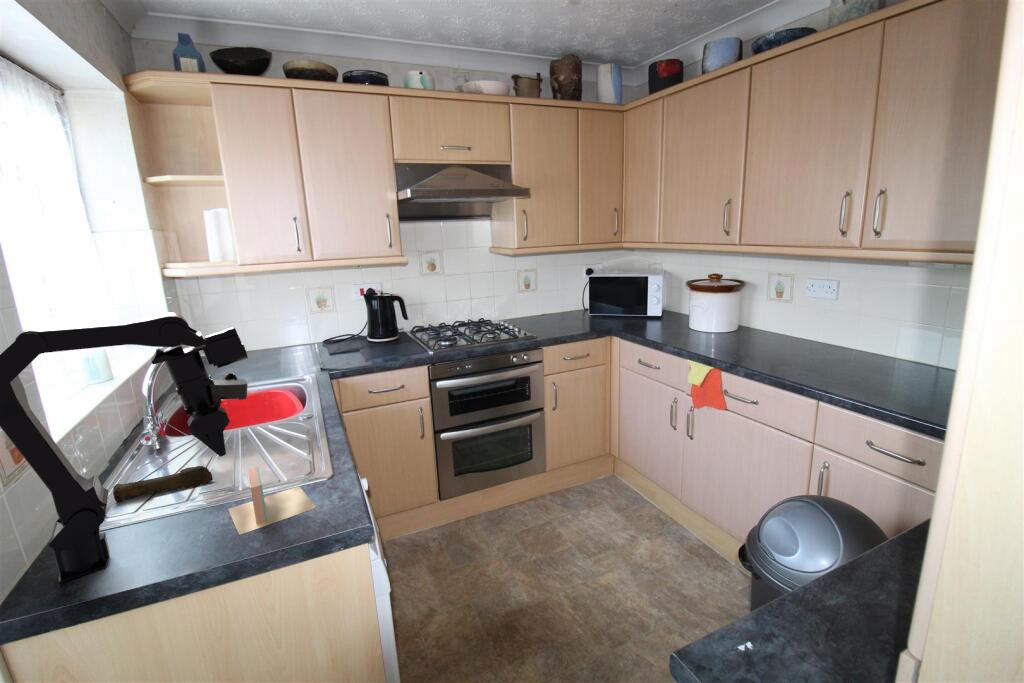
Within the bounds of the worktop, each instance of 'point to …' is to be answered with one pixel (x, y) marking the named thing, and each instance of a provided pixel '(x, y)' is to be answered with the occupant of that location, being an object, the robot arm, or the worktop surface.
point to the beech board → (271, 509)
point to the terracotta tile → (257, 495)
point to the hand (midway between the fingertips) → (220, 447)
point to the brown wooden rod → (163, 483)
